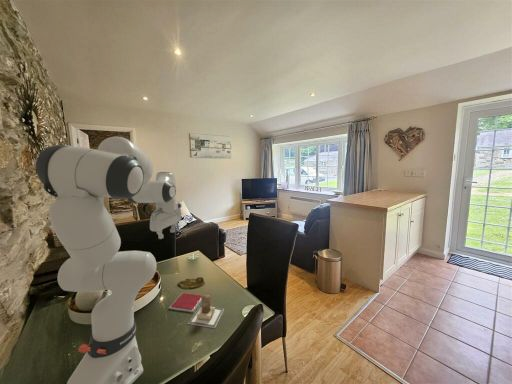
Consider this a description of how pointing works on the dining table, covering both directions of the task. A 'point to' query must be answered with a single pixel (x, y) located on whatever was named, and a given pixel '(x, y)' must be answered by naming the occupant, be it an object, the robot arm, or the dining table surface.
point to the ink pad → (186, 302)
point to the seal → (192, 283)
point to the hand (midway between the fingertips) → (167, 235)
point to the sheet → (211, 323)
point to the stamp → (206, 309)
